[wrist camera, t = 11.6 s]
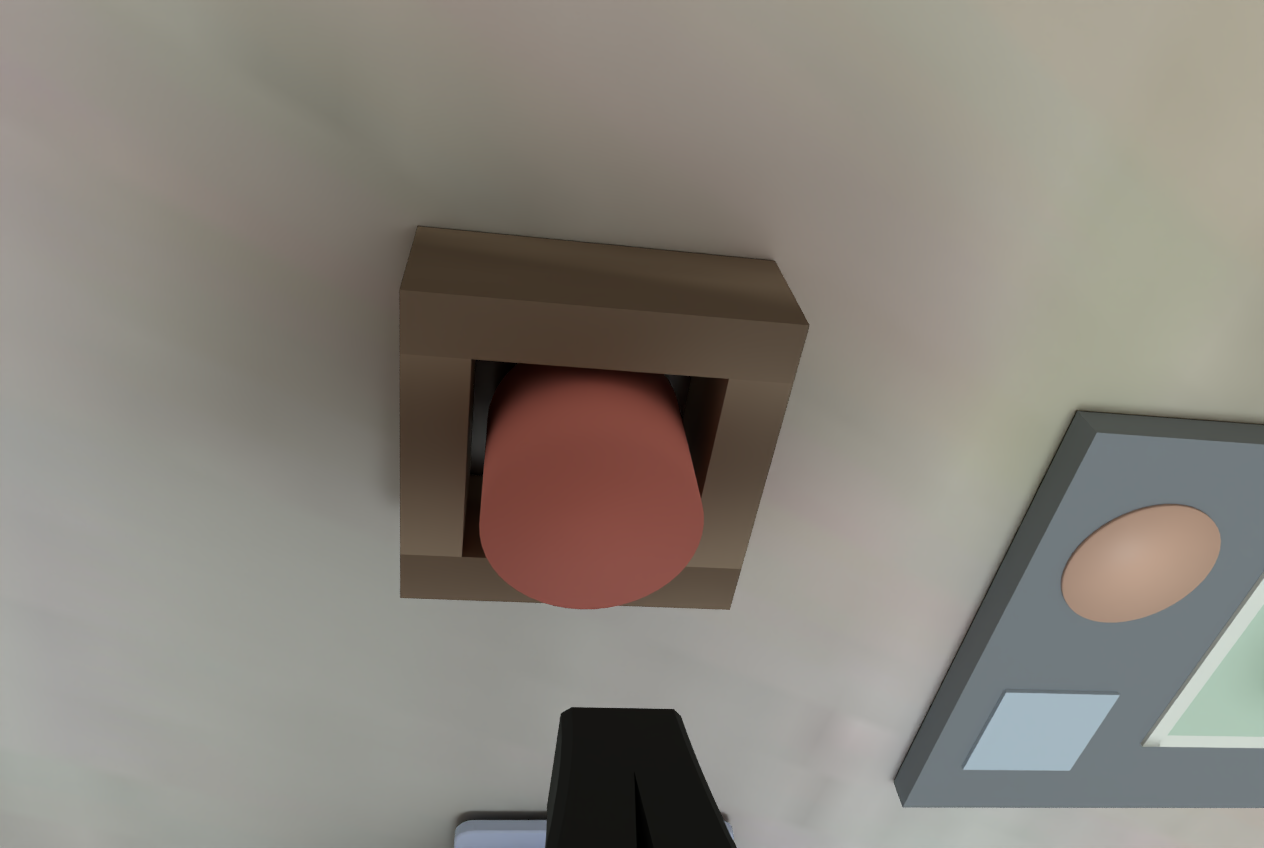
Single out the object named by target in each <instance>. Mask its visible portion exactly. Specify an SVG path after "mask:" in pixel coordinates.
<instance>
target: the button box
mask: <svg viewBox="0 0 1264 848" xmlns="http://www.w3.org/2000/svg"><path fill="white" fill-rule="evenodd" d="M399 294H400V598H419V599H447V600H475V601H503V602H531V603H543V602H540V601H537V600H535V599H533V598H530V597H528V596H526V595H524V594H522V593H521V592H519V591H517V590H516V589H514V588H513V587H512V586H510V585H509V584H507V583H506V582H505V581H504V580H503V579H502V578H501V577H500V576H499V575H498V574H497V573H496V571H495V570H494V569H493V568H492V566H491V565H490V563H489V561H488V559H487V558H486V556H485V553H484V550H483V548H482V544H481V539H480V530H479V522H480V509H481V497H482V484H483V475H475V474H470V463H471V443H472V424H473V404H474V384H475V365H476V360H488V361H501V362H514V363H527V364H540V365H553V366H566V367H579V368H593V369H606V370H619V371H632V372H645V373H658V374H671V375H685V376H692V377H691V382H690V387H689V392H688V397H687V402H686V407H685V411H684V416H683V421H682V422H683V426H684V430H685V435H686V439H687V443H688V447H689V451H690V455H691V459H692V464H693V468H694V472H695V476H696V480H697V484H698V488H699V493H700V497H701V501H702V506H703V511H704V526H703V532H702V537H701V540H700V543H699V546H698V548H697V550H696V552H695V554H694V556H693V557H692V559H691V560H690V561H689V563H688V564H687V566H686V567H685V568H684V569H683V570H682V571H681V572H680V573H679V574H678V575H677V576H676V577H675V578H674V579H673V580H671V581H670V582H669V583H668V584H666V585H665V586H663V587H662V588H660V589H659V590H657V591H655V592H653V593H651V594H649V595H648V596H645V597H643V598H641V599H638V600H636V601H633V602H629V603H626V604H623V605H618V606H642V607H670V608H698V609H726V610H730V607H731V603H732V600H733V596H734V593H735V589H736V586H737V582H738V578H739V575H740V571H741V568H742V564H743V561H744V557H745V553H746V550H747V546H748V543H749V539H750V536H751V532H752V529H753V525H754V521H755V518H756V514H757V511H758V507H759V504H760V500H761V496H762V493H763V489H764V486H765V482H766V479H767V475H768V472H769V468H770V464H771V461H772V457H773V454H774V450H775V447H776V443H777V439H778V436H779V432H780V429H781V425H782V422H783V418H784V415H785V411H786V407H787V404H788V400H789V397H790V393H791V390H792V386H793V382H794V379H795V375H796V372H797V368H798V365H799V361H800V357H801V354H802V350H803V347H804V343H805V340H806V336H807V333H808V329H809V324H808V322H807V320H806V318H805V316H804V314H803V312H802V310H801V309H800V307H799V305H798V303H797V301H796V299H795V297H794V295H793V294H792V292H791V290H790V288H789V286H788V284H787V282H786V281H785V279H784V277H783V275H782V273H781V271H780V269H779V267H778V266H777V264H776V262H775V261H769V260H759V259H749V258H739V257H728V256H718V255H708V254H698V253H687V252H677V251H667V250H656V249H646V248H636V247H626V246H615V245H605V244H595V243H585V242H574V241H564V240H554V239H544V238H533V237H523V236H513V235H503V234H492V233H482V232H472V231H462V230H451V229H441V228H431V227H421V226H418V227H417V230H416V234H415V237H414V241H413V244H412V248H411V251H410V255H409V258H408V262H407V265H406V269H405V272H404V276H403V279H402V283H401V286H400V290H399Z"/></svg>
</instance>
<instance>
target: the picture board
mask: <svg viewBox="0 0 1264 848" xmlns="http://www.w3.org/2000/svg"><path fill="white" fill-rule="evenodd" d="M894 785H895V788H896V790H897V793H898V796H899V798H900V801H901V804H902V807H996V808H1264V425H1256V424H1242V423H1229V422H1216V421H1202V420H1189V419H1176V418H1162V417H1149V416H1136V415H1122V414H1109V413H1096V412H1082V411H1077V413H1076V415H1075V417H1074V419H1073V421H1072V423H1071V425H1070V427H1069V429H1068V431H1067V433H1066V435H1065V437H1064V439H1063V441H1062V443H1061V445H1060V447H1059V449H1058V451H1057V453H1056V455H1055V457H1054V459H1053V461H1052V463H1051V465H1050V468H1049V470H1048V472H1047V474H1046V476H1045V478H1044V480H1043V482H1042V484H1041V486H1040V488H1039V490H1038V492H1037V494H1036V496H1035V498H1034V500H1033V502H1032V504H1031V506H1030V508H1029V510H1028V512H1027V514H1026V516H1025V518H1024V520H1023V522H1022V524H1021V526H1020V528H1019V530H1018V532H1017V534H1016V536H1015V538H1014V540H1013V542H1012V544H1011V546H1010V548H1009V550H1008V552H1007V554H1006V556H1005V558H1004V560H1003V562H1002V564H1001V566H1000V568H999V570H998V572H997V574H996V576H995V579H994V581H993V583H992V585H991V587H990V589H989V591H988V593H987V595H986V597H985V599H984V601H983V603H982V605H981V607H980V609H979V611H978V613H977V615H976V617H975V619H974V621H973V623H972V625H971V627H970V629H969V631H968V633H967V635H966V637H965V639H964V641H963V643H962V645H961V647H960V649H959V651H958V653H957V655H956V657H955V659H954V661H953V663H952V665H951V667H950V669H949V671H948V673H947V675H946V677H945V679H944V681H943V683H942V685H941V688H940V690H939V692H938V694H937V696H936V698H935V700H934V702H933V704H932V706H931V708H930V710H929V712H928V714H927V716H926V718H925V720H924V722H923V724H922V726H921V728H920V730H919V732H918V734H917V736H916V738H915V740H914V742H913V744H912V746H911V748H910V750H909V752H908V754H907V756H906V758H905V760H904V762H903V764H902V766H901V768H900V770H899V772H898V774H897V776H896V778H895V780H894Z"/></svg>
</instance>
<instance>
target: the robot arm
mask: <svg viewBox="0 0 1264 848" xmlns="http://www.w3.org/2000/svg"><path fill="white" fill-rule="evenodd" d="M733 840H734V835H733V830H732V826H731V825H730V824H729V823H728V822H726V821H724V820H723V818H722V815H721V813H720V811H719V809H718V807H717V804H716V802H715V800H714V798H713V796H712V793H711V791H710V789H709V787H708V784H707V782H706V780H705V777H704V775H703V773H702V770H701V768H700V765H699V763H698V760H697V758H696V755H695V753H694V750H693V748H692V745H691V743H690V740H689V737H688V735H687V732H686V729H685V727H684V724H683V721H682V718H681V716H680V715H679V714H678V713H677V712H676V711H675V710H674V709H636V708H581V707H571V708H570V709H568V710H566V711H564V712H563V713H561V716H560V723H559V730H558V736H557V743H556V750H555V757H554V763H553V770H552V777H551V783H550V790H549V797H548V804H547V820H469V821H465V822H463V823H461V824H460V825H459V826H457V828H456V830H455V839H454V848H737V847H736V845H735V843H734V841H733Z"/></svg>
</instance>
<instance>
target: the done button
mask: <svg viewBox="0 0 1264 848" xmlns="http://www.w3.org/2000/svg"><path fill="white" fill-rule="evenodd" d="M703 526H704V511H703V506H702V501H701V497H700V493H699V488H698V484H697V480H696V476H695V472H694V468H693V464H692V459H691V455H690V451H689V447H688V443H687V439H686V435H685V430H684V426H683V422H682V418H681V414H680V410H679V406H678V401H677V398H676V395H675V393H674V390H673V388H672V386H671V384H670V382H669V381H668V379H667V378H666V377H665V375H664V374H658V373H645V372H632V371H619V370H606V369H593V368H579V367H566V366H553V365H540V364H527V363H518V364H517V365H516V366H514V367H513V368H512V369H511V370H510V371H509V372H508V373H507V374H506V375H505V377H504V378H503V379H502V381H501V382H500V384H499V385H498V387H497V389H496V391H495V393H494V395H493V397H492V400H491V403H490V406H489V412H488V420H487V433H486V446H485V458H484V471H483V484H482V497H481V509H480V522H479V530H480V539H481V544H482V548H483V550H484V553H485V556H486V558H487V559H488V561H489V563H490V565H491V566H492V568H493V569H494V570H495V571H496V573H497V574H498V575H499V576H500V577H501V578H502V579H503V580H504V581H505V582H506V583H507V584H509V585H510V586H512V587H513V588H514V589H516V590H517V591H519V592H521V593H522V594H524V595H526V596H528V597H530V598H533V599H535V600H537V601H540V602H543V603H546V604H550V605H553V606H559V607H564V608H573V609H599V608H608V607H613V606H618V605H623V604H626V603H629V602H633V601H636V600H638V599H641V598H643V597H645V596H648V595H649V594H651V593H653V592H655V591H657V590H659V589H660V588H662V587H663V586H665V585H666V584H668V583H669V582H670V581H671V580H673V579H674V578H675V577H676V576H677V575H678V574H679V573H680V572H681V571H682V570H683V569H684V568H685V567H686V566H687V564H688V563H689V561H690V560H691V559H692V557H693V556H694V554H695V552H696V550H697V548H698V546H699V543H700V540H701V537H702V532H703Z"/></svg>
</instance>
